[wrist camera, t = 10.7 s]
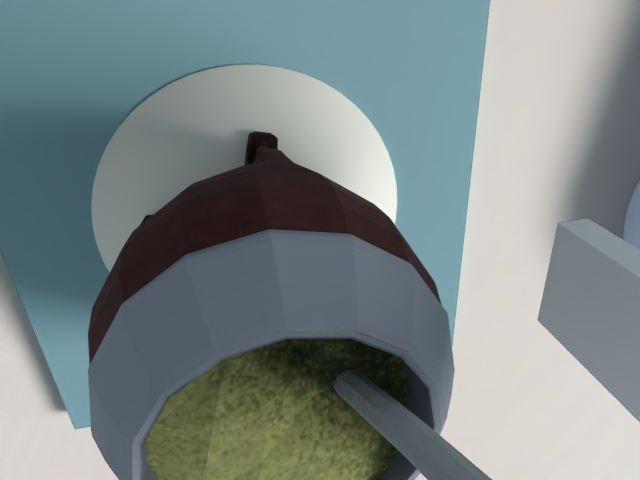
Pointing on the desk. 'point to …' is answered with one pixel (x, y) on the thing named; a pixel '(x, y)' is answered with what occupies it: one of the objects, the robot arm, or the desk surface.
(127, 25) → the mat
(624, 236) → the wedge on round base
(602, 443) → the desk surface
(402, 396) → the mate gourd
